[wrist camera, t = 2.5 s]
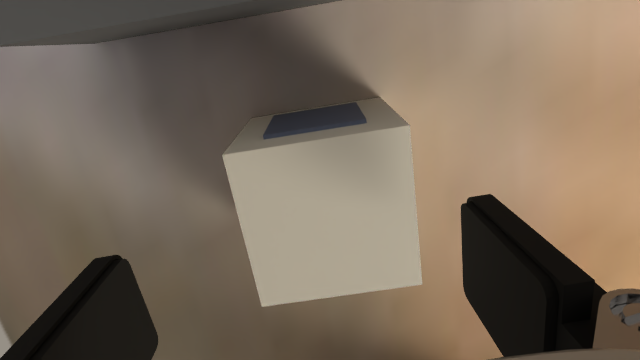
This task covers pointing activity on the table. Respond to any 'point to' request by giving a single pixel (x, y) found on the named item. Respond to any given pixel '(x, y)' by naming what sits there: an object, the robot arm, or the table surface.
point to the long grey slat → (119, 18)
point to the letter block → (326, 201)
